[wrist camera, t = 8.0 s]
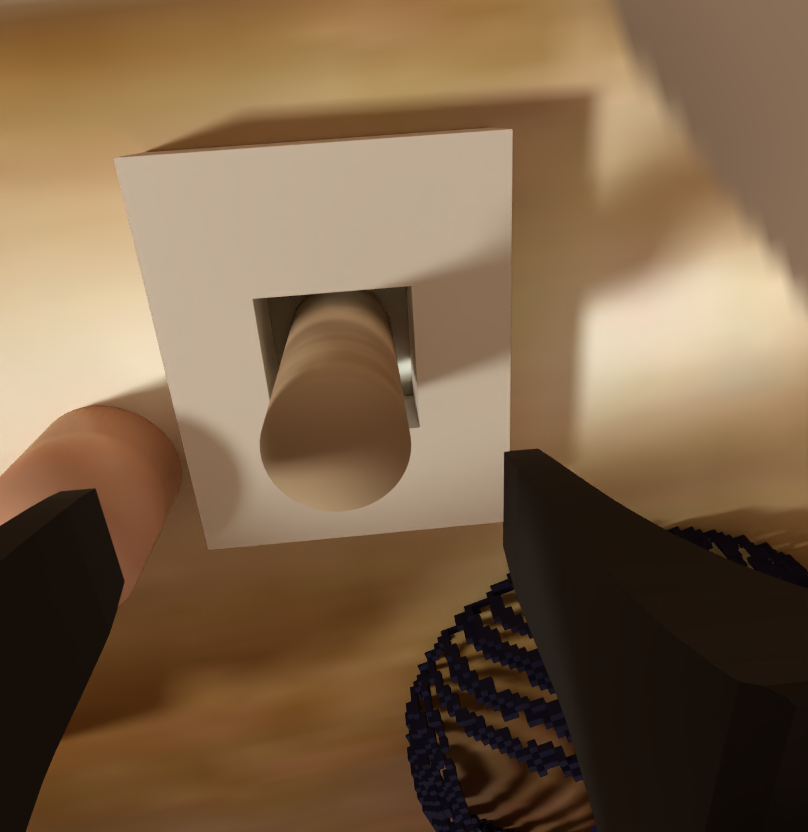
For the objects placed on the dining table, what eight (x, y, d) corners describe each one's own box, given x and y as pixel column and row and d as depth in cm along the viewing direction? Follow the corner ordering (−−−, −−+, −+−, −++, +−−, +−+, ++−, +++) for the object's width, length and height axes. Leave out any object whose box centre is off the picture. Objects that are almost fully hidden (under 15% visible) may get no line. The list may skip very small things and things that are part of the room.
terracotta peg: (194, 519, 23) (156, 615, 19) (61, 531, 23) (-9, 631, 19) (164, 399, 21) (114, 475, 17) (18, 412, 21) (-72, 492, 17)
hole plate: (494, 482, 24) (509, 521, 21) (222, 508, 23) (208, 550, 21) (493, 127, 18) (512, 128, 16) (143, 152, 18) (113, 158, 16)
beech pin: (396, 370, 21) (419, 500, 14) (302, 384, 21) (277, 521, 14) (383, 276, 20) (401, 367, 13) (282, 291, 20) (243, 390, 13)
